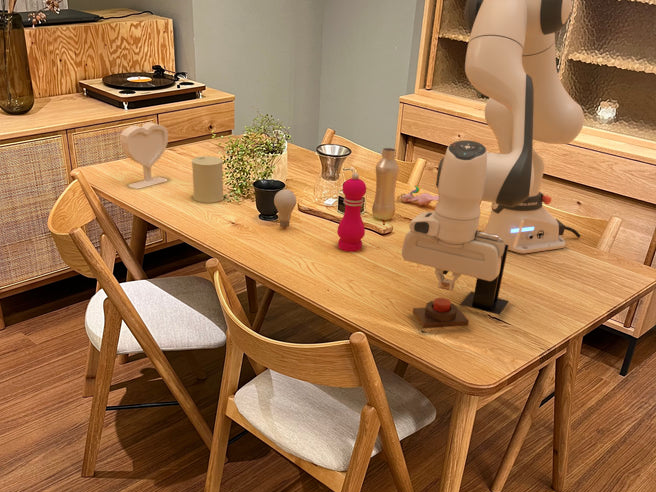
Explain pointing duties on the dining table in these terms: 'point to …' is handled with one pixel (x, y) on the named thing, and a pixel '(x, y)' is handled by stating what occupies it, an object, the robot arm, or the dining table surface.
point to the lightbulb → (285, 206)
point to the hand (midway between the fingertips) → (445, 288)
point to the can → (207, 179)
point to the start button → (442, 305)
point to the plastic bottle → (385, 185)
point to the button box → (439, 317)
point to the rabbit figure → (418, 197)
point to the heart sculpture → (145, 149)
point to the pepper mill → (352, 215)
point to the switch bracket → (488, 292)
